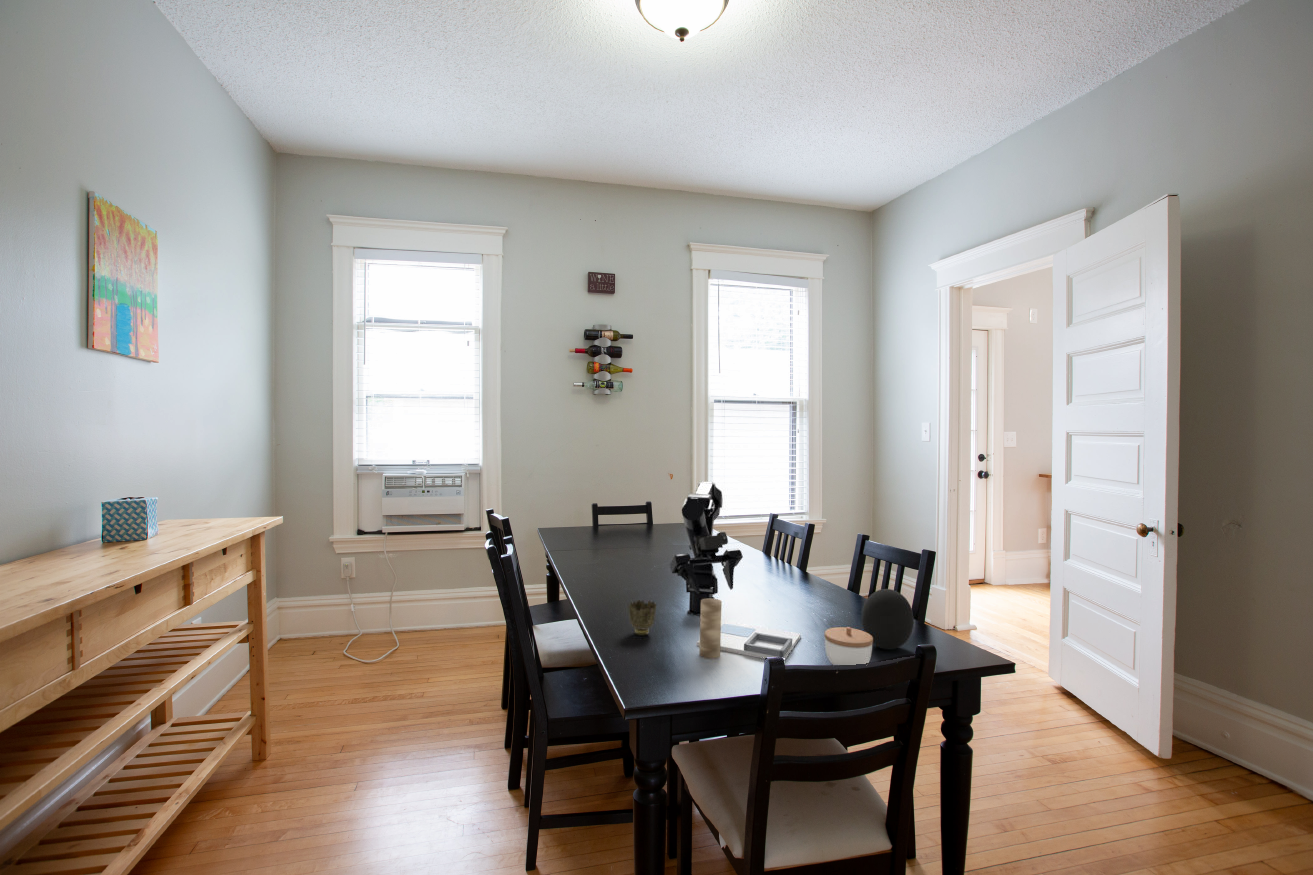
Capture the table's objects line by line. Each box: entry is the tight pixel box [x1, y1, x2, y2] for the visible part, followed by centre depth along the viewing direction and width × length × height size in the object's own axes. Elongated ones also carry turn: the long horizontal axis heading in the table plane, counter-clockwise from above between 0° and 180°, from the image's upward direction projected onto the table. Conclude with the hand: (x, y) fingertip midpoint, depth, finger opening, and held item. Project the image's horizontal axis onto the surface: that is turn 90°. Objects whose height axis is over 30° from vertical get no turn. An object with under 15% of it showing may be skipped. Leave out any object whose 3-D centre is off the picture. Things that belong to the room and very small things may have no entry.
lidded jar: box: [824, 626, 873, 666], centre depth 140 cm, size 11×11×9 cm
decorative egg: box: [861, 588, 915, 650], centre depth 153 cm, size 12×12×15 cm
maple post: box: [699, 598, 723, 660], centre depth 146 cm, size 5×5×13 cm
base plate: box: [696, 620, 802, 660], centre depth 156 cm, size 22×19×2 cm
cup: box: [628, 599, 657, 636], centre depth 160 cm, size 8×7×8 cm
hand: (715, 590), depth 154 cm, fingers open, 9 cm apart
